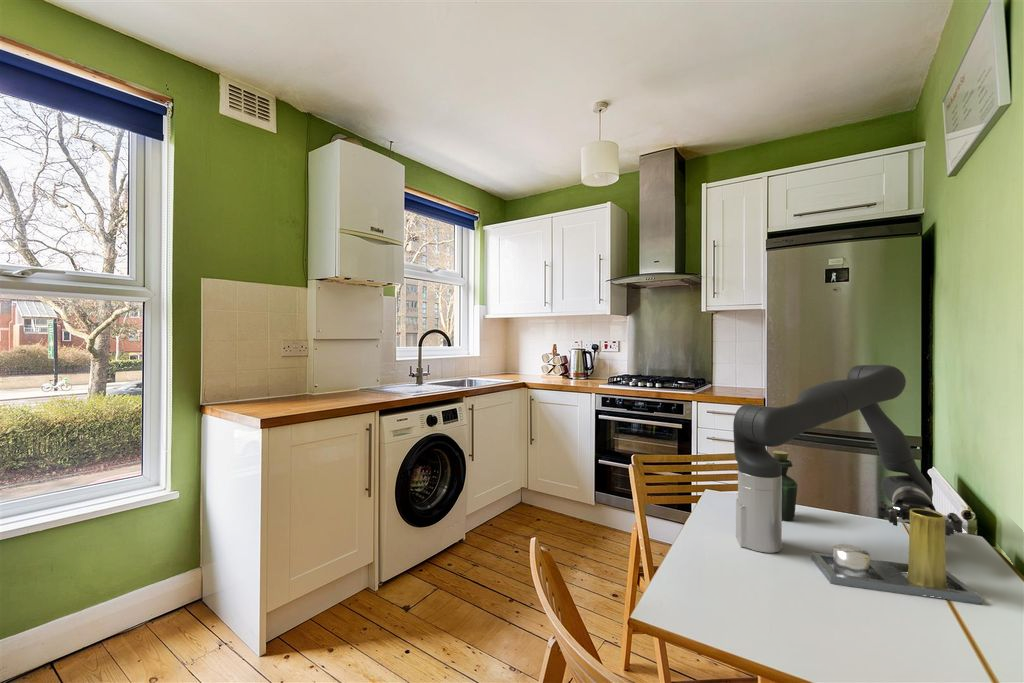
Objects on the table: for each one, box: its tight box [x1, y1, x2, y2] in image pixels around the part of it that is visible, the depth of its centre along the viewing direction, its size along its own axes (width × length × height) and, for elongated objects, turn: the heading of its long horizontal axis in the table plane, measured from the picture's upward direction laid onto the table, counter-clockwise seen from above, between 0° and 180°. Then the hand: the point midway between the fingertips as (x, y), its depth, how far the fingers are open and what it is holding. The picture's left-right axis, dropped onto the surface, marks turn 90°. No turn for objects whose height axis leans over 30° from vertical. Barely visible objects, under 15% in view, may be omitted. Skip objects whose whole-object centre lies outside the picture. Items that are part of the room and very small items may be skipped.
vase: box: [906, 509, 949, 589], centre depth 90 cm, size 6×6×14 cm
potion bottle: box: [772, 450, 798, 522], centre depth 126 cm, size 8×8×18 cm
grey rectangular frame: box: [810, 543, 982, 605], centre depth 92 cm, size 24×11×5 cm, turn 73°
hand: (921, 526), depth 98 cm, fingers open, 8 cm apart
